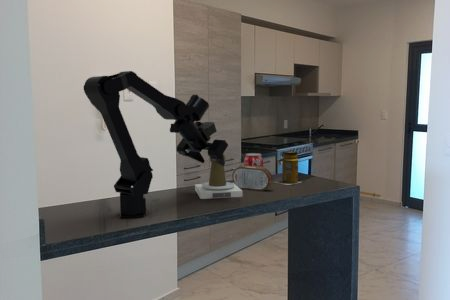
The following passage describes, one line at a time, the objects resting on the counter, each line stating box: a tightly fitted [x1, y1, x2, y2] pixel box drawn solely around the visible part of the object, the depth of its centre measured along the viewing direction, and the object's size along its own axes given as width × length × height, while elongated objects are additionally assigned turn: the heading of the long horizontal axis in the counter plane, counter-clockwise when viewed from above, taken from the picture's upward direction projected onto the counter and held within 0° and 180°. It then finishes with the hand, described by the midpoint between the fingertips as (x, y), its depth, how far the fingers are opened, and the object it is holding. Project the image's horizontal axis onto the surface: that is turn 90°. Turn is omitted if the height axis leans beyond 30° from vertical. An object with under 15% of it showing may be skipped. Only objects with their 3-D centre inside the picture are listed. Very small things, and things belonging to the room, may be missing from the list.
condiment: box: [275, 150, 302, 186], centre depth 159 cm, size 7×8×12 cm
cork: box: [208, 153, 227, 187], centre depth 140 cm, size 6×6×11 cm
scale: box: [194, 181, 243, 200], centre depth 140 cm, size 14×14×3 cm
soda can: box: [243, 152, 264, 167], centre depth 152 cm, size 7×7×12 cm
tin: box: [231, 164, 274, 192], centre depth 147 cm, size 15×3×8 cm, turn 61°
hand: (213, 163), depth 138 cm, fingers open, 9 cm apart
